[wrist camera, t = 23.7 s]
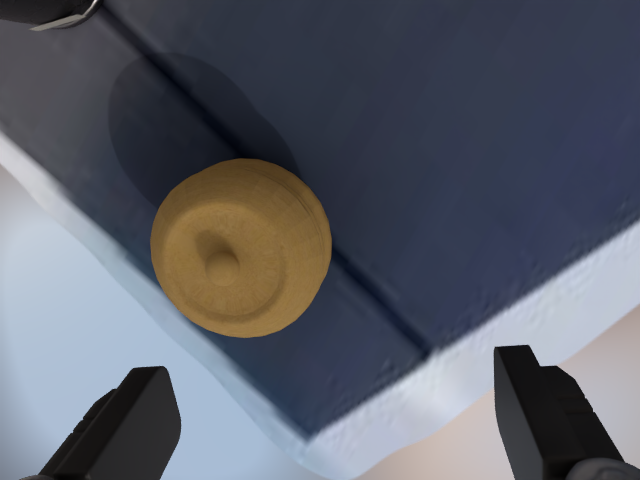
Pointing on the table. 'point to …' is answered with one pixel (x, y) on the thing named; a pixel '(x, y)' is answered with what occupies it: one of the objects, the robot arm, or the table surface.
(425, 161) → the table surface
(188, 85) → the table surface
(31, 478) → the robot arm
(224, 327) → the pot
